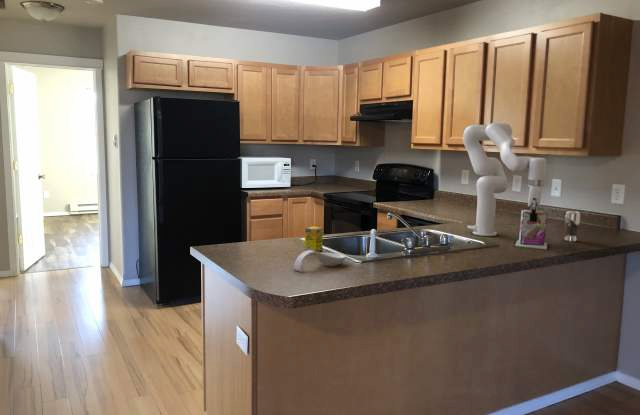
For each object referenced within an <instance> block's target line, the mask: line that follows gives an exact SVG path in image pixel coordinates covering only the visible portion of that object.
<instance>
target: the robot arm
mask: <svg viewBox="0 0 640 415" xmlns="http://www.w3.org/2000/svg"><path fill="white" fill-rule="evenodd" d="M512 135H513V128H512V126H511V125H510V124H508V123H507V122H492V123H489V124H470V125H469V126H467V127H466V128H464V131H463V134H462V142H463V145H464V148H465V150H466V151H467V154H468V157H469V160H470V163H471V166H472V169H473V172H474V173H475V174H476V175H478V176H481V177H479V178H478V179H477V181H476V193H477V195H476V196H477V199H476V200H477V201H476V217H475V218H476V220H475V224H474V225H467V227H466V228H467V230H472V234H473V235H475V236H480V237H495V236H497V235H498V232H496V231H495V225H496V224H495V223H496V210H497V209H496V208H497V200H496V196H495V194H502V193H504V192H506V191H507V189H508V186H509V182H508V179H507V176H506V172H505V169H504V168H503V164H504V165H505V167H507V168H508V170H510V171H511V172H513V173H528V176H527V187H529V190H528V200H527V201H528V202H527V207H529V208H530V210H531V213H530V221H533V222H536V221H537V211H538V208H539V207H540V203H541V198H542V188H545V185H546V174H547V173H546V172H547V159H546V158H545V157H533V156H524V155H523V156H517V154H515V152H514V151H513V150H512V149H513V147H514V146H515V144H516V141H515V139H514V138H513V136H512ZM480 141H481V142H483V141H484V142H485V141H486V142H488V141H489V142H490V141H491V142H492V143H493V144H494V145H495V146H496V147H497V149H498V150H500V151H499V156H500V160H501V161H502V163H503V164H502V163H501V161H500V160H499V159H498V158H496V157H492V156H491V157H488V155H487V153H486V151H485V148H484V147H483V145H482V144H481V142H480Z"/></svg>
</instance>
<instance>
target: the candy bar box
mask: <svg viewBox="0 0 640 415" xmlns="http://www.w3.org/2000/svg"><path fill="white" fill-rule="evenodd" d="M520 212H521V214H520V224H519V233H518V237H519V238H518V240H519V243H520V244H529V245H544V243H545V240H546V229H547V220H548V219H547V218H548V212H547V211H545V210H537V221H536V222H533V221H530V213H531V209H530V210H529V209H521V211H520Z"/></svg>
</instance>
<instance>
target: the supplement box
mask: <svg viewBox="0 0 640 415" xmlns="http://www.w3.org/2000/svg"><path fill="white" fill-rule="evenodd" d="M323 233H324V228H323V227H320V226H314V225H313V226H309V227H305V228H304V251H307V250H312V251H315V252H320V253H323V247H324V246H323V240H324V234H323Z"/></svg>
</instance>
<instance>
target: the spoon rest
mask: <svg viewBox="0 0 640 415" xmlns="http://www.w3.org/2000/svg"><path fill="white" fill-rule="evenodd" d="M310 255H313V256H314V257H315V258H316V259H317V260H318V261H319V262H320V263H321V264H322V265H323V266H326V267H336V266H339V265H340V264H342V263H343V262H344V261H345V260H346V258H347V256H346V255H345V254H341V253H335V252H315V251H312V250H307V251H305V250H304V251H303V252H301V253H300V254H299V255H298V256H297V258H296V259H295V262H294V264H293V270H294V271H297V272H301V273H302V272H303V266H304V261H305V259H306V258H307V257H309V256H310Z"/></svg>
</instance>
